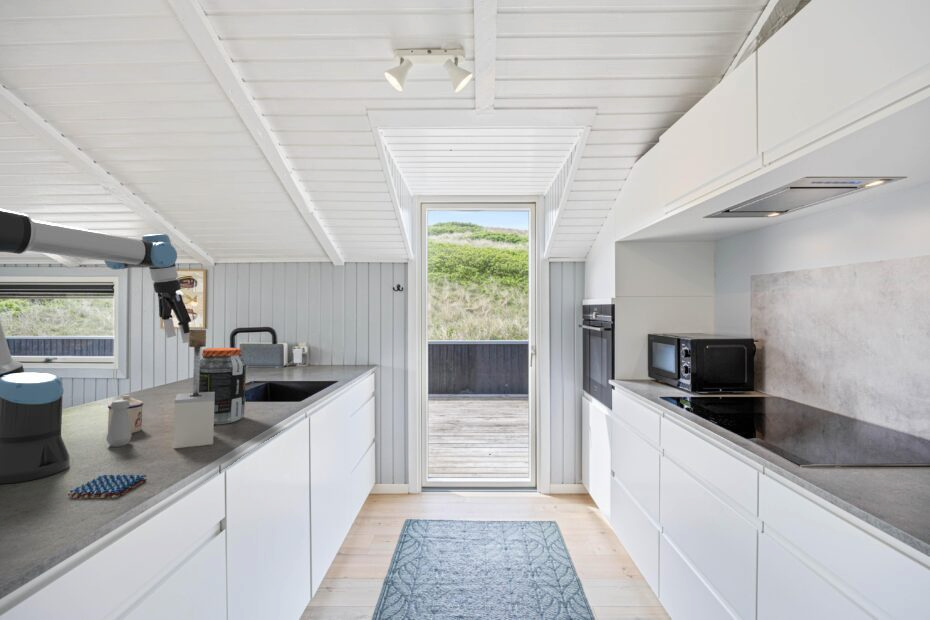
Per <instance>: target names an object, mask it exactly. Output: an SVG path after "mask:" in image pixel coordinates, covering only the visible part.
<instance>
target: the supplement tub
mask: <svg viewBox="0 0 930 620" xmlns="http://www.w3.org/2000/svg"><path fill="white" fill-rule="evenodd" d="M201 356H202V358H200V375H199V393H200V392H215V401H214V425H223V424H224V425H225V424H231V423H234V422H236V421H237V422H238V421H240V420H241V419H243V418H244V417H245V416H244V415H245V407H246V405H245V404H246V402H245V401H246V376H247V375H246V374H247V373H246V371H247V367H246V366H247V365H246V364H247V363H246V361H245V360H244V358H243V355H242V349H241V348H239V347H212V348H211V347H209V348H203V349H202V352H201Z"/></svg>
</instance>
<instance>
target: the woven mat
mask: <svg viewBox="0 0 930 620" xmlns="http://www.w3.org/2000/svg"><path fill="white" fill-rule="evenodd" d="M146 477H147V474H143V475H142V474H138V475H137V474H135V475H134V474H115V475H114V474H103V475H99V476H98V477H97V478H93V479H92V480H91V481H87V482H86V483H84V484H81V486H77V487H75V489H73V490H72V489H70V490H69V492H70V493H68V494H67V496H70V497H68V498H67V499H77V498H78V500H79V499H80V500H81V499H83V498H84V499H89V498H90V499H94V498H96V499H99V498H100V499H110V498H112V499H117V498H119V497H120V496H123V494H125V493H127V492H129V491H130V490H132V489H134V488H135V487H137V486H139V485H141V484H142V483H144V482H146V481H147V480H148V479H147V478H146Z"/></svg>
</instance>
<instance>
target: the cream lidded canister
mask: <svg viewBox="0 0 930 620" xmlns="http://www.w3.org/2000/svg"><path fill="white" fill-rule="evenodd" d="M118 400H128V401H129V408H127V413H128V419H129V424H130V430H131V434H134V433H137V432H140V431H141V430H142V429H143V428H142V427H143V406H144V402H143V401H142V400H139V399H136V398H133V397H131V395H130V394H126V395H125V394H123V395H122V397H121V398H119V399H118ZM111 403H112V402H110V403H109V404H108V406H107V408H108V417H107V418H108V422H107V423H108V424H107V431H108V430H109V426H110V422H111V418H112V414H113V409H111Z"/></svg>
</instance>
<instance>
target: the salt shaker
mask: <svg viewBox="0 0 930 620" xmlns="http://www.w3.org/2000/svg"><path fill="white" fill-rule="evenodd" d="M110 403H111V409H113V414H112V418H111V422H110V426H109V430H108V429H107V435H106V442H107V444H108V445H109V447H113V448H114V447H115V448H116V447H117V448H119V447H124V446H127V445H129V442H130V440H131V439H132V433H131V430H130V424H129V419H128V413H127V408H129V401H128V400H119V399H118V400H113V401H112V402H110ZM126 444H127V445H126Z"/></svg>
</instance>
